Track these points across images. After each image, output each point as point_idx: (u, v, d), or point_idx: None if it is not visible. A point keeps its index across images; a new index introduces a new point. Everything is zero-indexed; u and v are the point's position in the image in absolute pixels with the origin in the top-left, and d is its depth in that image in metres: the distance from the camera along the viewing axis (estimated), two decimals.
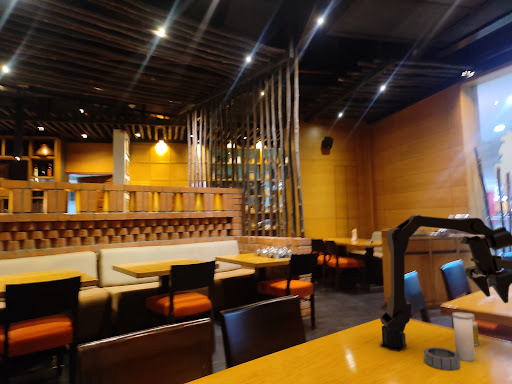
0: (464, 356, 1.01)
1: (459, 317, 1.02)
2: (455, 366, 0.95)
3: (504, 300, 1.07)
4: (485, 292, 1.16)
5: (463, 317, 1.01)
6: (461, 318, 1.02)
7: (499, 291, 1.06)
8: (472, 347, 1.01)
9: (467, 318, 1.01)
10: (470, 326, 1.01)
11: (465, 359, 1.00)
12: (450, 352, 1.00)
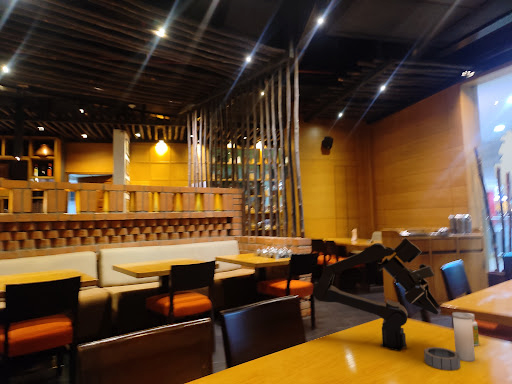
0: (464, 356, 1.01)
1: (459, 317, 1.02)
2: (455, 366, 0.95)
3: (433, 312, 1.03)
4: (433, 304, 1.12)
5: (463, 317, 1.01)
6: (461, 318, 1.02)
7: (421, 306, 1.04)
8: (472, 347, 1.01)
9: (467, 318, 1.01)
10: (470, 326, 1.01)
11: (465, 359, 1.00)
12: (450, 352, 1.00)
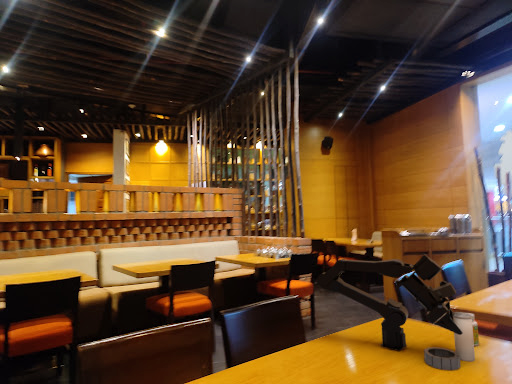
0: (464, 356, 1.01)
1: (458, 317, 1.02)
2: (455, 366, 0.95)
3: (457, 332, 1.00)
4: None
5: (463, 317, 1.01)
6: (461, 318, 1.02)
7: (444, 326, 1.01)
8: (472, 347, 1.01)
9: (467, 318, 1.01)
10: (470, 326, 1.01)
11: (465, 359, 1.00)
12: (450, 352, 1.00)
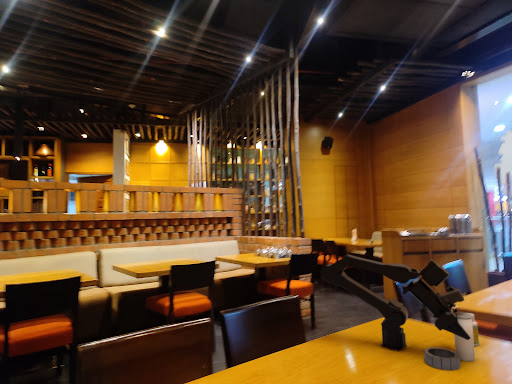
0: (464, 356, 1.01)
1: (459, 317, 1.02)
2: (455, 366, 0.95)
3: (465, 337, 1.00)
4: None
5: (463, 317, 1.01)
6: (461, 318, 1.02)
7: (452, 331, 1.01)
8: (472, 347, 1.01)
9: (467, 318, 1.01)
10: (470, 326, 1.01)
11: (465, 359, 1.00)
12: (450, 352, 1.00)
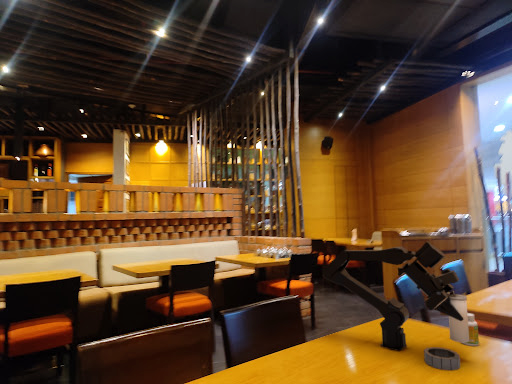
0: (458, 337, 1.00)
1: (452, 298, 1.02)
2: (455, 366, 0.95)
3: (458, 318, 1.00)
4: None
5: (456, 298, 1.01)
6: (454, 299, 1.01)
7: (444, 312, 1.01)
8: (466, 328, 1.00)
9: (461, 299, 1.00)
10: (464, 307, 1.00)
11: (458, 340, 1.00)
12: (450, 352, 1.00)
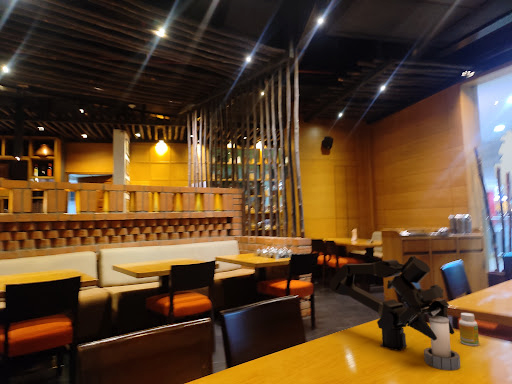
0: None
1: (431, 320, 1.00)
2: (455, 366, 0.95)
3: (431, 337, 0.97)
4: None
5: (435, 320, 0.99)
6: (433, 321, 0.99)
7: (418, 329, 0.99)
8: (445, 353, 0.97)
9: (439, 322, 0.98)
10: (443, 331, 0.97)
11: None
12: None
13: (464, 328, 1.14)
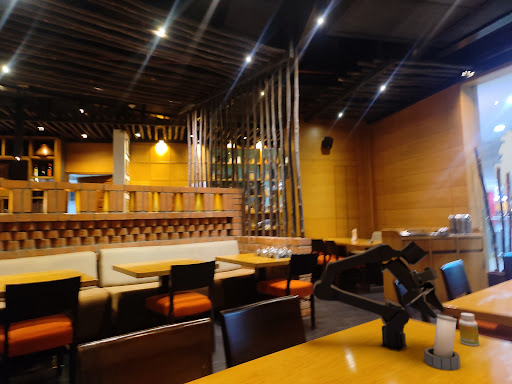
0: None
1: (439, 317, 1.00)
2: (455, 366, 0.95)
3: (431, 316, 1.02)
4: (438, 308, 1.10)
5: (443, 317, 0.99)
6: (441, 318, 1.00)
7: (419, 309, 1.04)
8: (447, 350, 0.97)
9: (447, 319, 0.99)
10: (449, 328, 0.98)
11: None
12: None
13: (464, 328, 1.14)
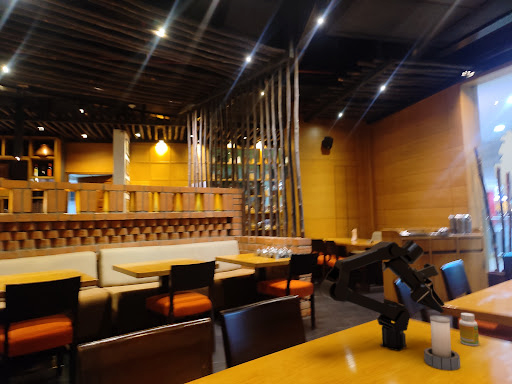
0: None
1: (432, 320, 1.00)
2: (455, 366, 0.95)
3: (438, 310, 1.05)
4: (438, 302, 1.13)
5: (436, 320, 0.99)
6: (434, 321, 0.99)
7: (426, 305, 1.06)
8: (445, 352, 0.97)
9: (440, 321, 0.98)
10: (444, 330, 0.98)
11: None
12: None
13: (464, 328, 1.14)
